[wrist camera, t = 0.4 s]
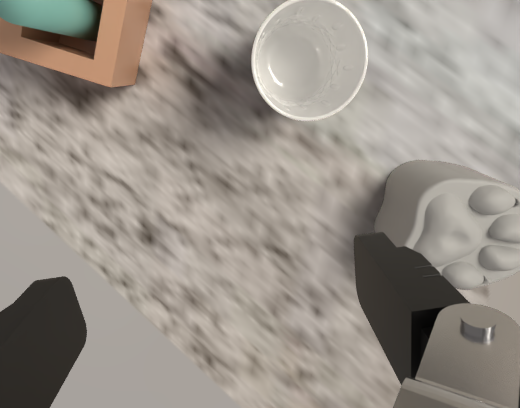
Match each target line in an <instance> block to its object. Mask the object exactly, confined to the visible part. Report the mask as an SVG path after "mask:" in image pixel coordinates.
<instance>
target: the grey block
mask: <svg viewBox="0 0 520 408" xmlns="http://www.w3.org/2000/svg"><path fill="white" fill-rule="evenodd" d="M374 231H375V233H377V232H384V233H385V235H386V236H387V237H388V238H389V239H390V240H391V241H392V242H393V244H394V245H395V246H396V247H403V246H406V247H408V248H410V249H412V250H414V251H416V252H418V253H421V254H422V255H423V256H424V257H425V258H426V259H427V260H428V261H429V262H430V263H431V264H432V267H433V266H434V267H435V268H436V269H437V270H438V271H439V272H440V275H441V276H442V275H443V276H444V277H445V278H446V279H447V280H448V281H449V282H450V283H451V284H452V286H453V287H454V288H457V289H462V290H470V289H473V288H477V287H481V286H485V285H488V284H492V283H495V282H497V281H500V280H503V279H506V278H508V277H510V276H512V275H514V274H515V273H517V272H518V271H520V190H518V189H517V188H515V187H513V186H511V185H508V184H506V183H504V182H501V181H499V180H496V179H494V178H492V177H489V176H487V175H484V174H482V173H480V172H477V171H475V170H472V169H470V168H467V167H464V166H461V165H457V164H452V163H447V162H441V161H428V160H414V161H409V162H406V163H404V164H402V165H400V166H398V167H397V168H395V169H394V170H393V171H392V172H391V174H390V175H389V177H388V179H387V182H386V187H385V194H384V200H383V203H382V206H381V208H380V211H379V213H378V215H377V217H376V220H375V223H374Z"/></svg>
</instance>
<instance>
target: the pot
mask: <svg viewBox="0 0 520 408" xmlns="http://www.w3.org/2000/svg"><path fill="white" fill-rule="evenodd" d="M92 1H94V2H96V3H98V4H100V5H102V6H103V8H102V14H101V20H100V26H99V32H98V37H97V41H90V40H85V39H81V38H76V37H71V36H67V35H62V34H57V33H53V32H48V31H43V30H39V29H34V28H29V27H25V26H20V25H16V24H12V23H9V22H7V21H5V20H4V19H2V18H1V17H0V53H2V54H6V55H9V56H12V57H15V58H18V59H21V60H25V61H28V62H31V63H34V64H37V65H41V66H44V67H47V68H50V69H53V70H57V71H60V72H63V73H66V74H69V75H72V76H76V77H79V78H82V79H85V80H88V81H92V82H95V83H98V84H101V85H104V86H108V87H119V86H127V85H135V81H136V76H137V72H138V67H139V62H140V57H141V52H142V48H143V43H144V38H145V33H146V28H147V23H148V19H149V14H150V9H151V4H152V0H92Z"/></svg>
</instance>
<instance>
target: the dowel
mask: <svg viewBox="0 0 520 408" xmlns="http://www.w3.org/2000/svg"><path fill="white" fill-rule="evenodd" d="M102 8H103V6H102V5H100V4H98V3H96V2H94V1H92V0H0V17H1V18H2V19H4V20H5V21H7V22H9V23H12V24H16V25H20V26H25V27H29V28H34V29H39V30H43V31H48V32H53V33H57V34H62V35H67V36H71V37H76V38H81V39H85V40H90V41H97V37H98V32H99V26H100V20H101V14H102Z"/></svg>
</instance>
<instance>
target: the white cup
mask: <svg viewBox="0 0 520 408" xmlns="http://www.w3.org/2000/svg"><path fill="white" fill-rule="evenodd" d="M367 63H368V48H367V42H366V38H365V35H364V32H363V29H362V27H361V25H360V23H359V22H358V20H357V19H356V17H355V16H354V15H353V14H352V13H351V12H350V11H349V10H348V9H347V8H346V7H345V6H343V5H342V4H340V3H339V2H337V1H335V0H289V1H287V2H285V3H283V4H281V5H280V6H278V7H277V8H276V9H275V10H273V11H272V12H271V13H270V14H269V15H268V17H267V18H266V19H265V20H264V22H263V23H262V25H261V26H260V28H259V30H258V32H257V34H256V37H255V40H254V43H253V48H252V54H251V68H252V74H253V78H254V82H255V84H256V87H257V89H258V91H259V93H260V95H261V96H262V98H263V99H264V100H265V101H266V103H267V104H268V105H269V106H270V107H271V108H273V109H274V110H275V111H276V112H278V113H280V114H281V115H283V116H285V117H288V118H290V119H294V120H299V121H316V120H321V119H324V118H327V117H329V116H332V115H333V114H335V113H337V112H339V111H340V110H341V109H343V108H344V107H345V106H346V105H347V104H348V103H349V102H350V101H351V100H352V99H353V98H354V96H355V95H356V94H357V92H358V90H359V89H360V87H361V85H362V82H363V80H364V77H365V74H366V70H367Z"/></svg>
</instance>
